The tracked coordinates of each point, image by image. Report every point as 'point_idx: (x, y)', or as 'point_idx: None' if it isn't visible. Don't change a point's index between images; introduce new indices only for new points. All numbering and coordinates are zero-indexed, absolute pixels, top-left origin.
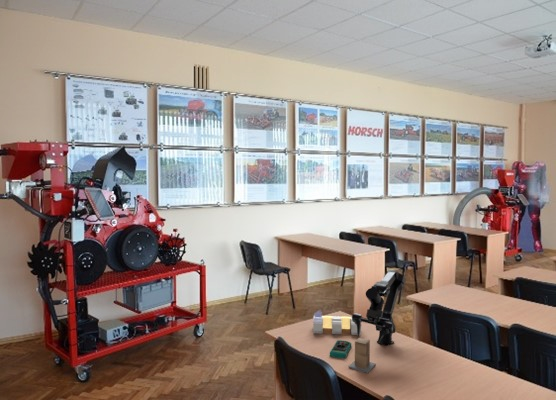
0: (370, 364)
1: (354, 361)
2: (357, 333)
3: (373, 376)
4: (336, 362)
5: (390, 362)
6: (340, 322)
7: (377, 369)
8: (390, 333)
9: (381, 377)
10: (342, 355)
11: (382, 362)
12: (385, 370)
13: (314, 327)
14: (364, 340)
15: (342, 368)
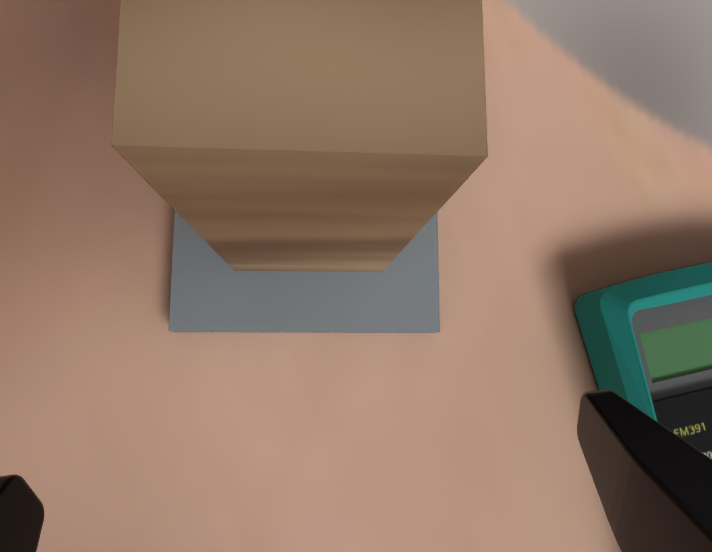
0: (220, 266)
1: (430, 238)
2: (686, 442)
3: (107, 45)
4: (608, 154)
5: None
6: None
7: (117, 233)
8: None
9: (14, 66)
10: (625, 284)
11: (116, 465)
12: (16, 259)
13: None
14: (258, 31)
15: (484, 53)
